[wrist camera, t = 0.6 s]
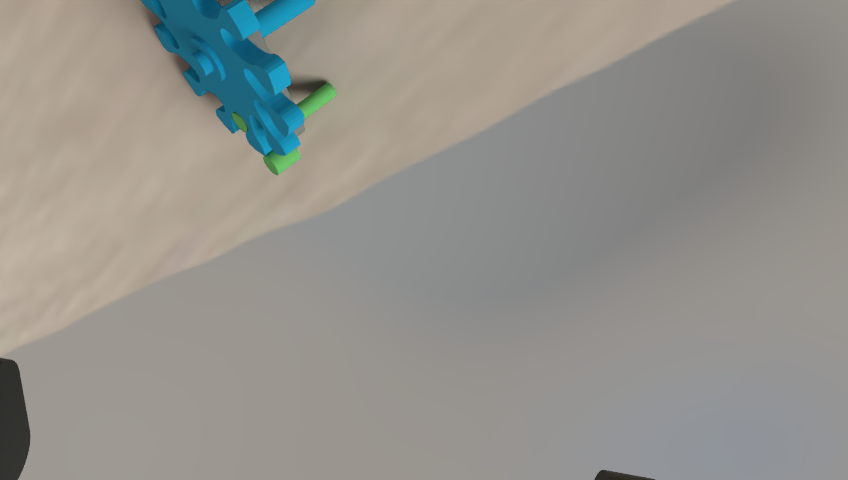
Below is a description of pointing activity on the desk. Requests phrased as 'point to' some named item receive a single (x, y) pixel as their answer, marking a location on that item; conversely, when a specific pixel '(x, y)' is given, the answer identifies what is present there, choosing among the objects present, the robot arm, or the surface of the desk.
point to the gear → (241, 69)
